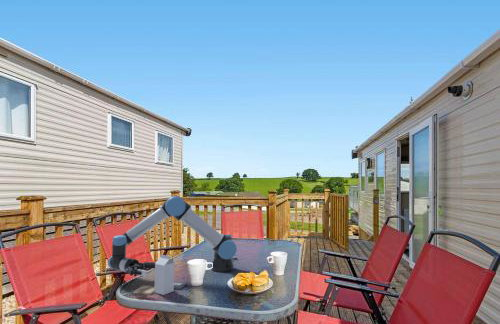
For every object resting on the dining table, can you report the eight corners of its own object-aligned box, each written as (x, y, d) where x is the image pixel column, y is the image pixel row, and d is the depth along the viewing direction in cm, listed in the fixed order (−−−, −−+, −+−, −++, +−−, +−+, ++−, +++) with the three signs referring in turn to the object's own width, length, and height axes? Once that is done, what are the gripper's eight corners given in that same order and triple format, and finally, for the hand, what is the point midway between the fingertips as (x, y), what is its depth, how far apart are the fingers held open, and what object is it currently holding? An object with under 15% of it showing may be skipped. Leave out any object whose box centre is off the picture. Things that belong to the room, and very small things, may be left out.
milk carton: (163, 295, 159) (164, 257, 160) (154, 292, 163) (155, 255, 164) (173, 291, 165) (174, 255, 166) (164, 289, 169) (165, 253, 170)
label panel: (186, 284, 177) (186, 281, 177) (180, 289, 168) (180, 286, 168) (160, 282, 180) (160, 280, 180) (152, 287, 171) (153, 285, 171)
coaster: (159, 288, 170) (159, 286, 170) (150, 294, 160) (150, 293, 160) (142, 287, 171) (142, 285, 171) (132, 293, 161) (132, 291, 161)
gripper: (146, 267, 188) (172, 272, 177) (110, 277, 166) (137, 284, 156) (147, 254, 188) (173, 259, 178) (110, 263, 167) (137, 268, 156)
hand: (156, 270), depth 167 cm, fingers open, 13 cm apart
